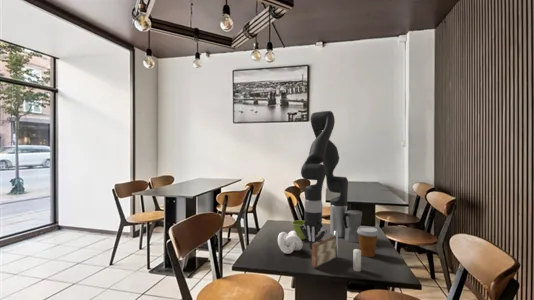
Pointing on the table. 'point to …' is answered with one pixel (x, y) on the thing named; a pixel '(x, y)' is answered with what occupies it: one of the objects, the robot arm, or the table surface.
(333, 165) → the robot arm
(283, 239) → the white decorative knot
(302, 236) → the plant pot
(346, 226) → the coffeepot
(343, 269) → the table surface
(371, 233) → the disposable coffee cup
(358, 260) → the post
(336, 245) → the translucent grey rod
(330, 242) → the brown flat block
